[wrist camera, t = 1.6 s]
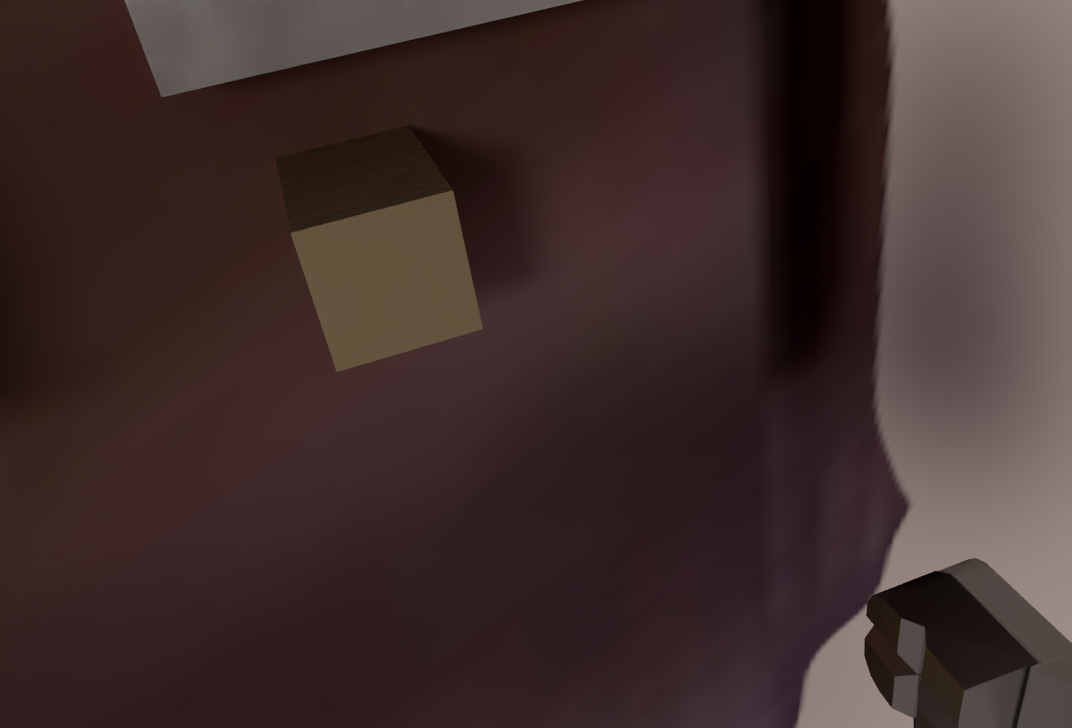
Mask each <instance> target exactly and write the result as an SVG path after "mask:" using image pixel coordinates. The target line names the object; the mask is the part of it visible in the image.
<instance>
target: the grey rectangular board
mask: <svg viewBox="0 0 1072 728" xmlns="http://www.w3.org/2000/svg"><path fill="white" fill-rule="evenodd" d="M577 1H582V0H125V3H126V5H127V8H128V11H129V13H130V16H131V18H132V21H133V24H134V26H135V29H136V31H137V34H138V37H139V39H140V42H141V44H142V47H143V50H144V52H145V55H146V57H147V60H148V63H149V65H150V68H151V70H152V73H153V76H154V78H155V81H156V83H157V86H158V89H159V91H160V94H161V96H162V97H164V96H169V95H173V94H178V93H182V92H186V91H191V90H195V89H199V88H204V87H208V86H212V85H217V84H221V83H225V82H230V81H234V80H238V79H243V78H247V77H251V76H256V75H260V74H264V73H269V72H273V71H277V70H282V69H286V68H290V67H295V66H299V65H303V64H308V63H312V62H317V61H321V60H325V59H330V58H334V57H338V56H343V55H347V54H351V53H356V52H360V51H364V50H369V49H373V48H377V47H382V46H386V45H390V44H395V43H399V42H403V41H408V40H412V39H416V38H421V37H425V36H429V35H434V34H438V33H442V32H447V31H451V30H456V29H460V28H464V27H469V26H473V25H477V24H482V23H486V22H490V21H495V20H499V19H503V18H508V17H512V16H516V15H521V14H525V13H529V12H534V11H538V10H542V9H547V8H551V7H555V6H560V5H564V4H568V3H573V2H577Z"/></svg>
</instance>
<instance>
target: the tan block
mask: <svg viewBox="0 0 1072 728" xmlns="http://www.w3.org/2000/svg"><path fill="white" fill-rule="evenodd" d="M276 162H277V167H278V172H279V177H280V182H281V187H282V192H283V197H284V202H285V207H286V213H287V218H288V223H289V228H290V233H291V236H292V239H293V242H294V245H295V248H296V251H297V254H298V257H299V260H300V263H301V266H302V269H303V272H304V275H305V278H306V281H307V284H308V287H309V290H310V293H311V296H312V299H313V302H314V305H315V308H316V311H317V314H318V317H319V320H320V323H321V326H322V329H323V332H324V335H325V338H326V341H327V344H328V347H329V350H330V353H331V356H332V359H333V362H334V365H335V368H336V371H337V372H339V371H342V370H345V369H349V368H352V367H356V366H359V365H362V364H366V363H369V362H373V361H376V360H379V359H383V358H386V357H390V356H393V355H397V354H400V353H403V352H407V351H410V350H414V349H417V348H420V347H424V346H427V345H431V344H434V343H437V342H441V341H444V340H448V339H451V338H455V337H458V336H461V335H465V334H468V333H472V332H475V331H478V330H482V329H483V327H482V323H481V318H480V313H479V309H478V304H477V299H476V295H475V290H474V285H473V281H472V276H471V272H470V267H469V262H468V258H467V253H466V248H465V244H464V239H463V234H462V230H461V225H460V221H459V216H458V211H457V207H456V202H455V197H454V193H453V190H452V188H451V187H450V185H449V184H448V182H447V181H446V179H445V178H444V176H443V175H442V174H441V172H440V171H439V169H438V168H437V166H436V165H435V163H434V162H433V160H432V159H431V157H430V156H429V155H428V153H427V152H426V150H425V149H424V147H423V146H422V144H421V143H420V141H419V140H418V139H417V137H416V136H415V134H414V133H413V131H412V130H411V128H410V127H409V125H408V126H404V127H399V128H395V129H391V130H387V131H383V132H379V133H375V134H371V135H367V136H363V137H359V138H355V139H351V140H347V141H343V142H339V143H335V144H331V145H327V146H322V147H318V148H314V149H310V150H306V151H302V152H298V153H294V154H290V155H286V156H282V157H278V158H276Z"/></svg>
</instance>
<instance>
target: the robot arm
mask: <svg viewBox="0 0 1072 728" xmlns="http://www.w3.org/2000/svg"><path fill="white" fill-rule="evenodd" d="M866 615H867V617H868V618H869V619H870V621H871V622H872V623H873V624H874V626H873V628H872V629H871V630H870V632H869V633H868V635H867V636H866V637H865V653H864V654H865V655H864V656H865V659H866V662H867V665H868V668H869V672H870V675H871V677H872V679H873V681H874V682H875V684H876V686H877V688H878V689H879V691H880V693H881V694H882V695H883V696H884V698H885V699H886V701H887V702H888V703H889V705H890V706H891V707H892V708H893V709H895V710H897V711H900V712H902V713H904V714H906V715H908V716H910V717H912V718H914V728H1072V643H1071V642H1070V641H1069V640H1068V639H1067V638H1065V637H1064V636H1063V635H1062V634H1061V633H1060V632H1059V631H1058V630H1057V629H1056V628H1055V627H1054V626H1053V625H1052V624H1051V623H1050V622H1048V621H1047V620H1046V619H1045V618H1044V617H1043V616H1042V615H1041V614H1040V613H1039V612H1038V611H1037V610H1035V608H1033V607H1032V606H1031V605H1030V604H1029V603H1028V602H1027V601H1026V600H1025V599H1024V598H1023V597H1022V596H1021V595H1020V594H1018V593H1017V592H1016V591H1015V590H1014V589H1013V588H1012V587H1011V586H1010V585H1009V584H1008V583H1007V582H1006V581H1005V580H1004V579H1003V578H1001V577H1000V576H999V575H998V574H997V573H996V572H995V571H994V570H993V569H992V568H991V567H990V566H989V565H988V564H987V563H985V562H983V561H981V560H979V559H976V558H974V559H969V560H966V561H963V562H961V563H958V564H956V565H953V566H951V567H948V568H946V569H943V570H940V571H934V572H932V573H929V574H926V575H924V576H921V577H919V578H916V579H914V580H911V581H909V582H906V583H903V584H901V585H898V586H896V587H893V588H891V589H888V590H885V591H883V592H880V593H878V594H875V595H873V596H872V597H871V598H870V600H869V601H868V603H867V614H866Z"/></svg>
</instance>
